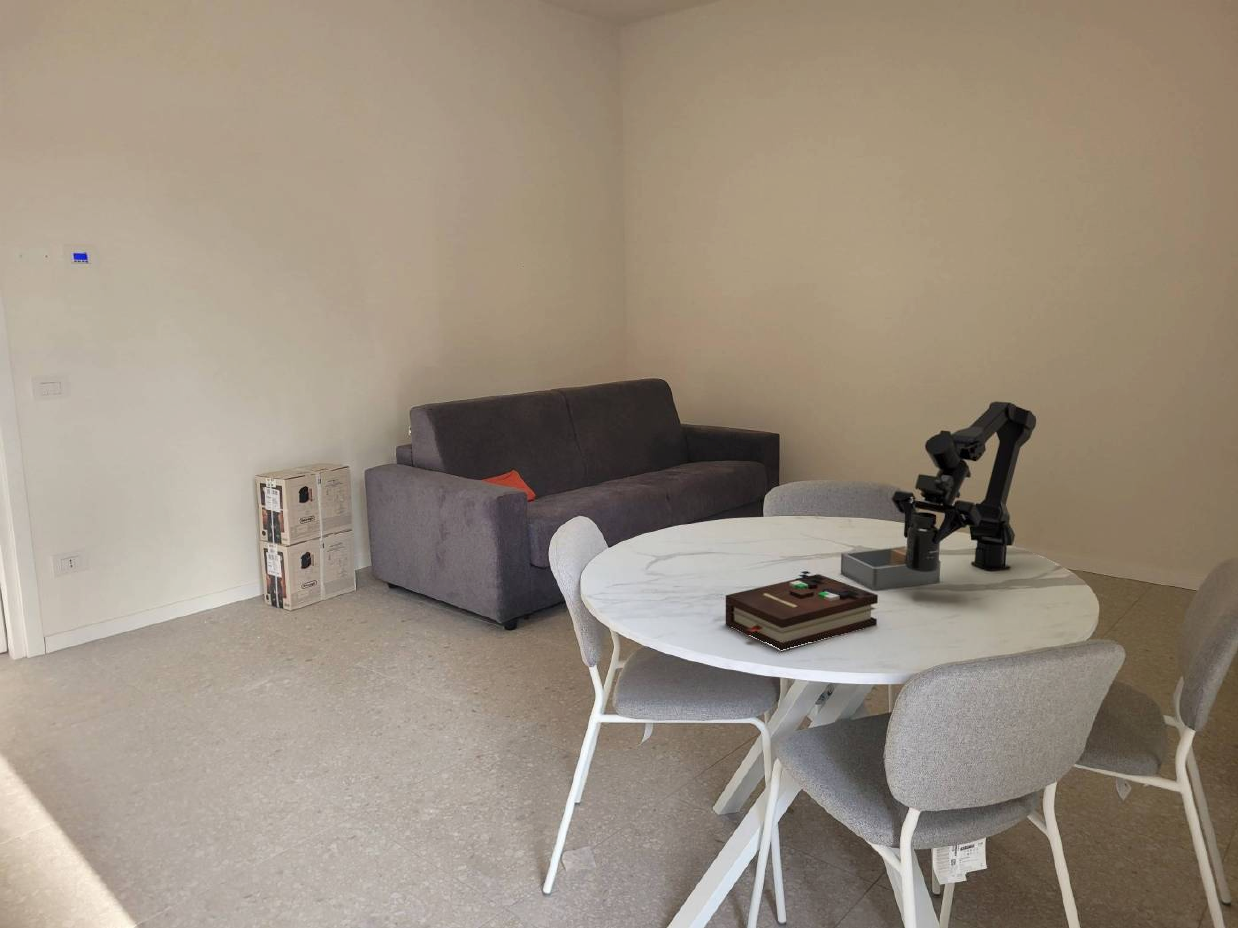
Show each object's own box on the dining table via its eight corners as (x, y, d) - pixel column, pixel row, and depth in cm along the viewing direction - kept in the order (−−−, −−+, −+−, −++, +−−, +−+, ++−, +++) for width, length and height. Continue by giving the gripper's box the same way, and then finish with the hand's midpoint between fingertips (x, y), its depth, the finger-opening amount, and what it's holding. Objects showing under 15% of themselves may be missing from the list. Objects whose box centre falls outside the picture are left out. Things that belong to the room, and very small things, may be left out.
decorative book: (712, 591, 183) (822, 567, 199) (712, 627, 185) (821, 600, 200) (776, 619, 167) (891, 590, 183) (776, 658, 169) (889, 626, 184)
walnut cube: (908, 567, 218) (908, 547, 217) (921, 573, 213) (922, 552, 213) (890, 569, 217) (891, 549, 216) (903, 575, 212) (903, 554, 211)
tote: (903, 565, 223) (904, 546, 222) (939, 581, 210) (940, 561, 209) (840, 573, 217) (841, 553, 217) (873, 590, 205) (874, 569, 204)
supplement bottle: (937, 574, 194) (940, 519, 192) (904, 570, 197) (906, 516, 195) (939, 564, 201) (942, 511, 198) (907, 561, 203) (909, 509, 201)
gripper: (897, 454, 204) (868, 511, 199) (977, 465, 190) (948, 526, 185) (914, 483, 211) (886, 539, 205) (993, 496, 197) (965, 555, 192)
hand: (919, 539), depth 197 cm, fingers closed on supplement bottle, 7 cm apart
